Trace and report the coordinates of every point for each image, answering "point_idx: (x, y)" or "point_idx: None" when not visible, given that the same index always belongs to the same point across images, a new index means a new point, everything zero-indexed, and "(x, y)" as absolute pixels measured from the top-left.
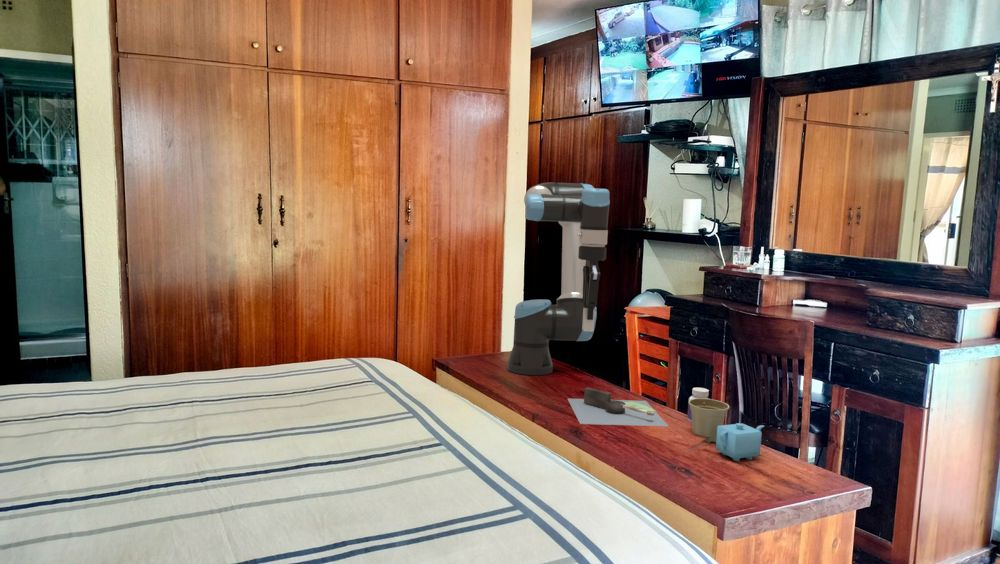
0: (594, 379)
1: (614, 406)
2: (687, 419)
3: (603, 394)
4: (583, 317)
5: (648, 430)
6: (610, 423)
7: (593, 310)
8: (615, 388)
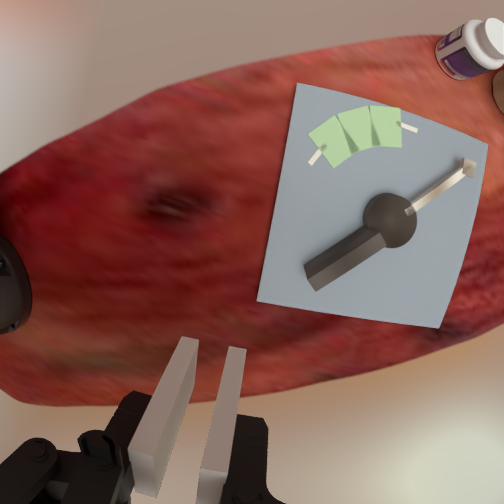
0: (44, 146)
1: (411, 235)
2: (458, 75)
3: (372, 253)
4: (175, 437)
5: None
6: (455, 266)
7: (227, 462)
8: (119, 109)
